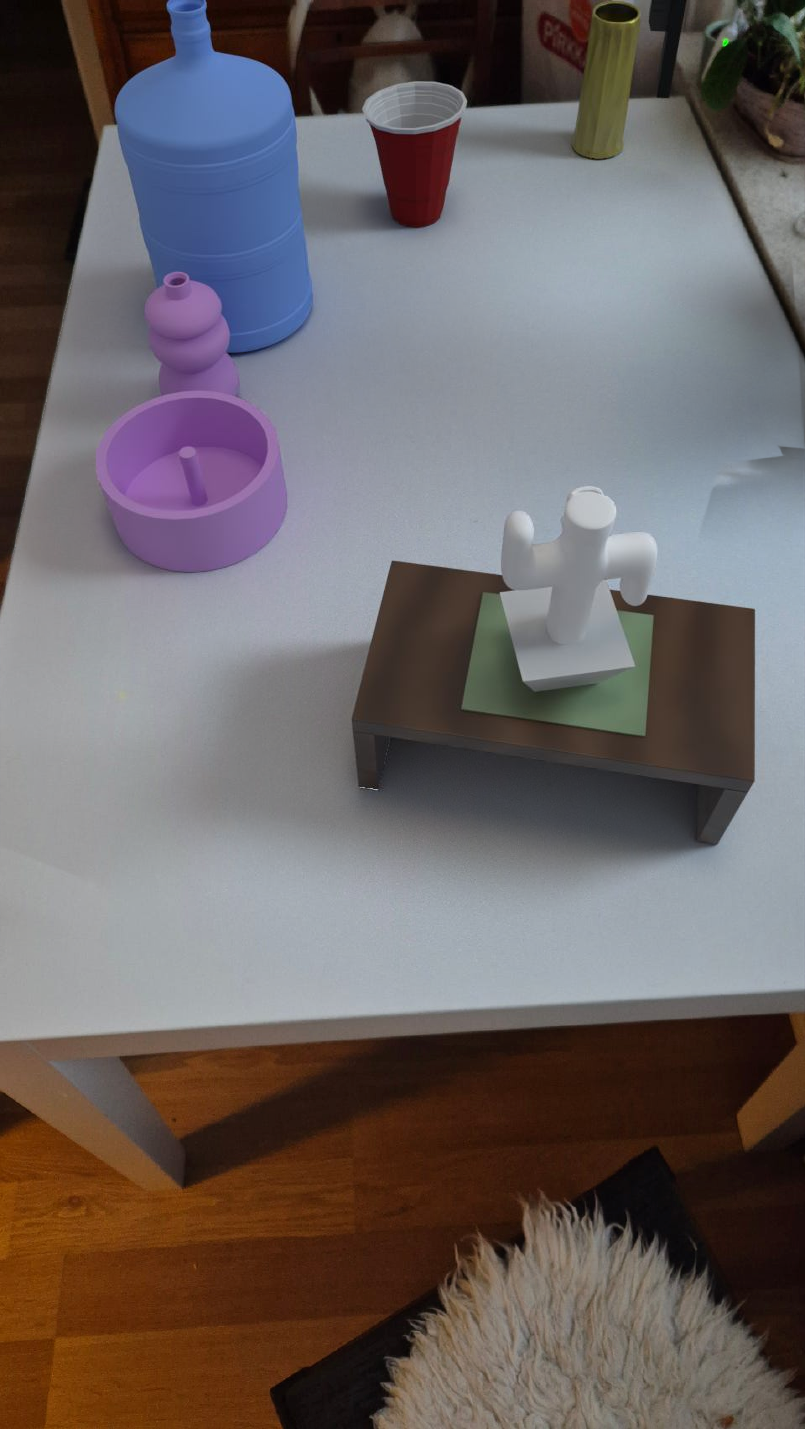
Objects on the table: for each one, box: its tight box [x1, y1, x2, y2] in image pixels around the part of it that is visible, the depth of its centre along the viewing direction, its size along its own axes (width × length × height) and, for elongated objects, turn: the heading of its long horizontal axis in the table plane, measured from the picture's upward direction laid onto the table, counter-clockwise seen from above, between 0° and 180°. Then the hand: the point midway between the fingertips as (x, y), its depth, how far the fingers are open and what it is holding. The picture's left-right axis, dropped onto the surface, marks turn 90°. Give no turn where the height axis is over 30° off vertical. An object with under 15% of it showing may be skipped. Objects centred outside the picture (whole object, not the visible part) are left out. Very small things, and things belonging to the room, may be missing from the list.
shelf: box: [351, 559, 756, 846], centre depth 72 cm, size 26×14×10 cm, turn 79°
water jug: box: [114, 0, 314, 354], centre depth 93 cm, size 16×16×28 cm
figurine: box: [500, 485, 659, 692], centre depth 62 cm, size 7×9×15 cm
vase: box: [571, 0, 642, 160], centre depth 114 cm, size 6×6×14 cm
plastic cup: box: [361, 81, 468, 228], centre depth 108 cm, size 11×11×12 cm
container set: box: [94, 272, 288, 573], centre depth 87 cm, size 25×15×13 cm, turn 5°
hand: (776, 93), depth 62 cm, fingers open, 13 cm apart
